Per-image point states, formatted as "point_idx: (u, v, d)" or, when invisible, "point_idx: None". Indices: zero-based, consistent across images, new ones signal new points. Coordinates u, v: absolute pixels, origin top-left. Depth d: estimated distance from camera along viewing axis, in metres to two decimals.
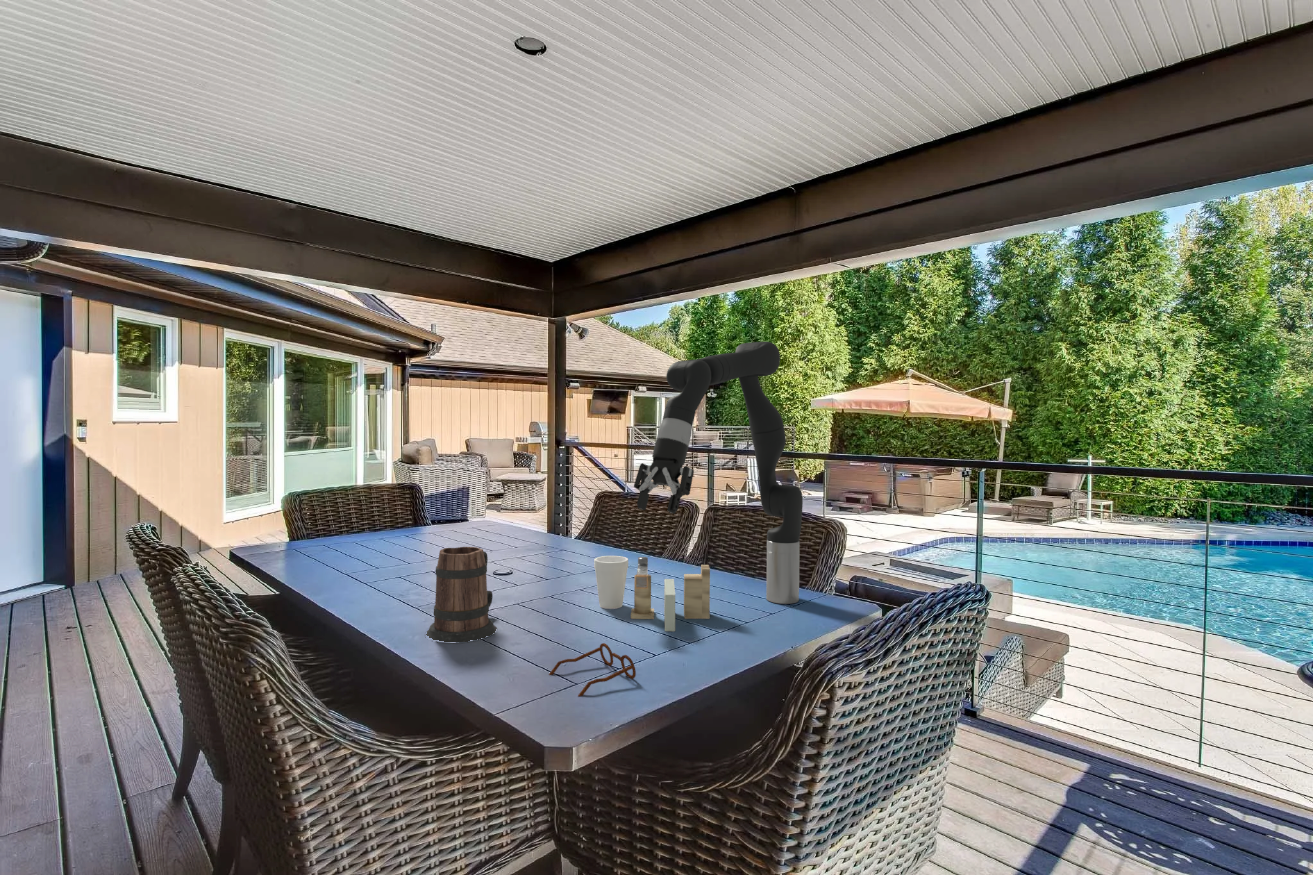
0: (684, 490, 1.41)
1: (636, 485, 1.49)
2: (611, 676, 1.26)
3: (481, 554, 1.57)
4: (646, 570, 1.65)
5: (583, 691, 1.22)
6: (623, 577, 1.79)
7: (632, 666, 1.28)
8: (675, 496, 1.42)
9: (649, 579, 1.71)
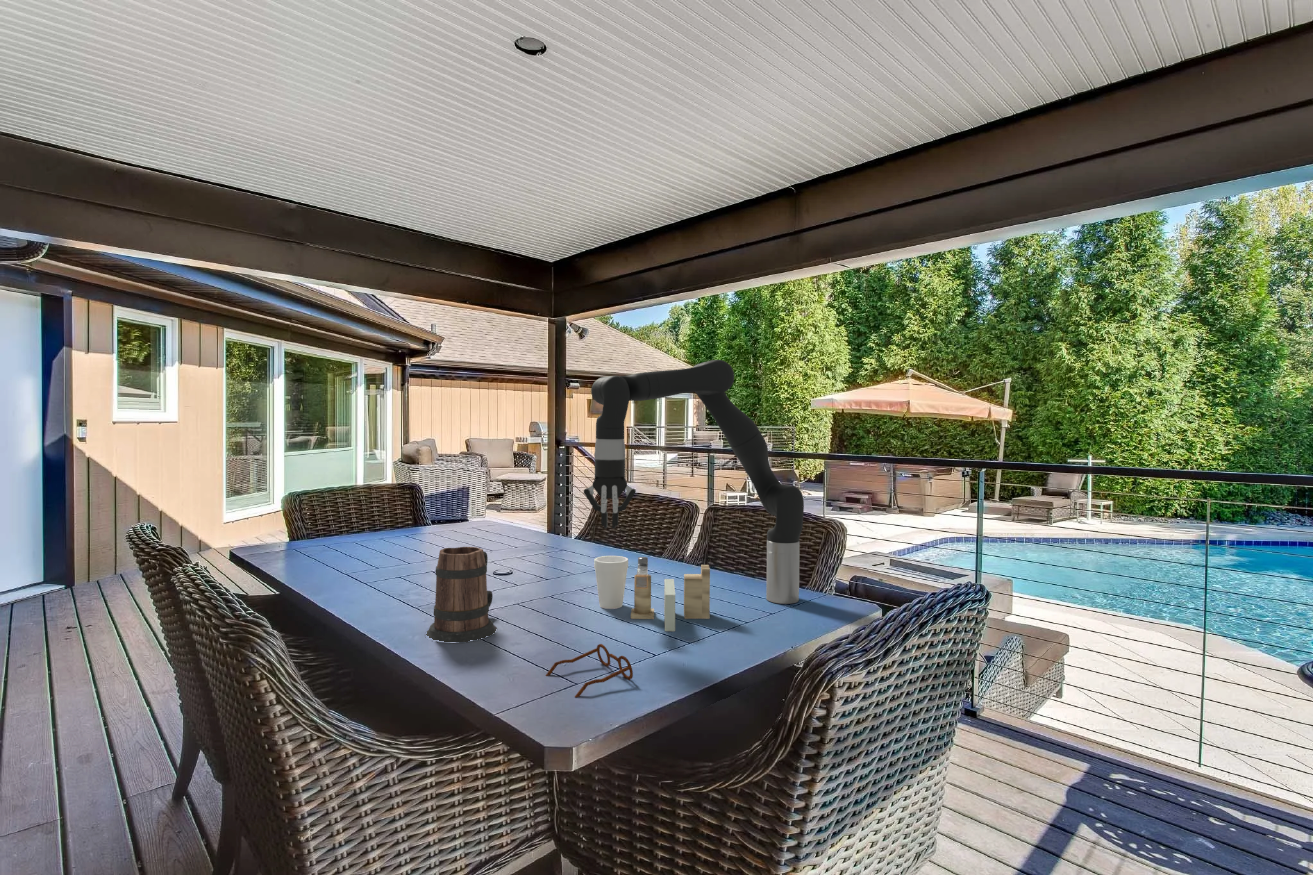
0: None
1: (596, 507, 1.60)
2: (608, 677, 1.25)
3: (481, 554, 1.57)
4: (646, 570, 1.65)
5: (580, 692, 1.22)
6: (623, 577, 1.79)
7: (629, 667, 1.28)
8: (616, 514, 1.60)
9: (649, 579, 1.71)
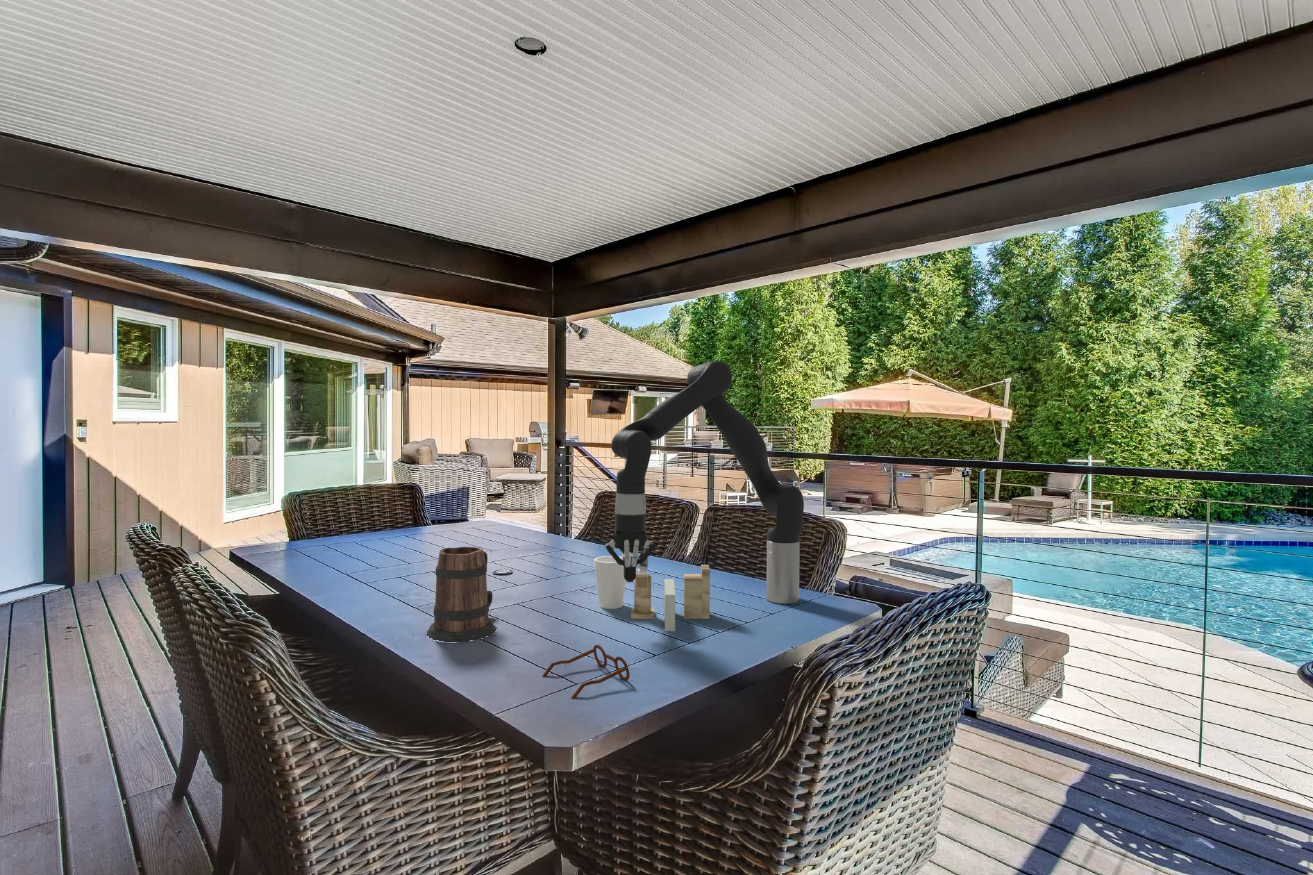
0: None
1: (620, 562, 1.59)
2: (605, 678, 1.25)
3: (481, 554, 1.57)
4: (646, 570, 1.65)
5: (576, 693, 1.21)
6: (623, 577, 1.79)
7: (626, 668, 1.27)
8: (634, 567, 1.60)
9: (649, 579, 1.71)
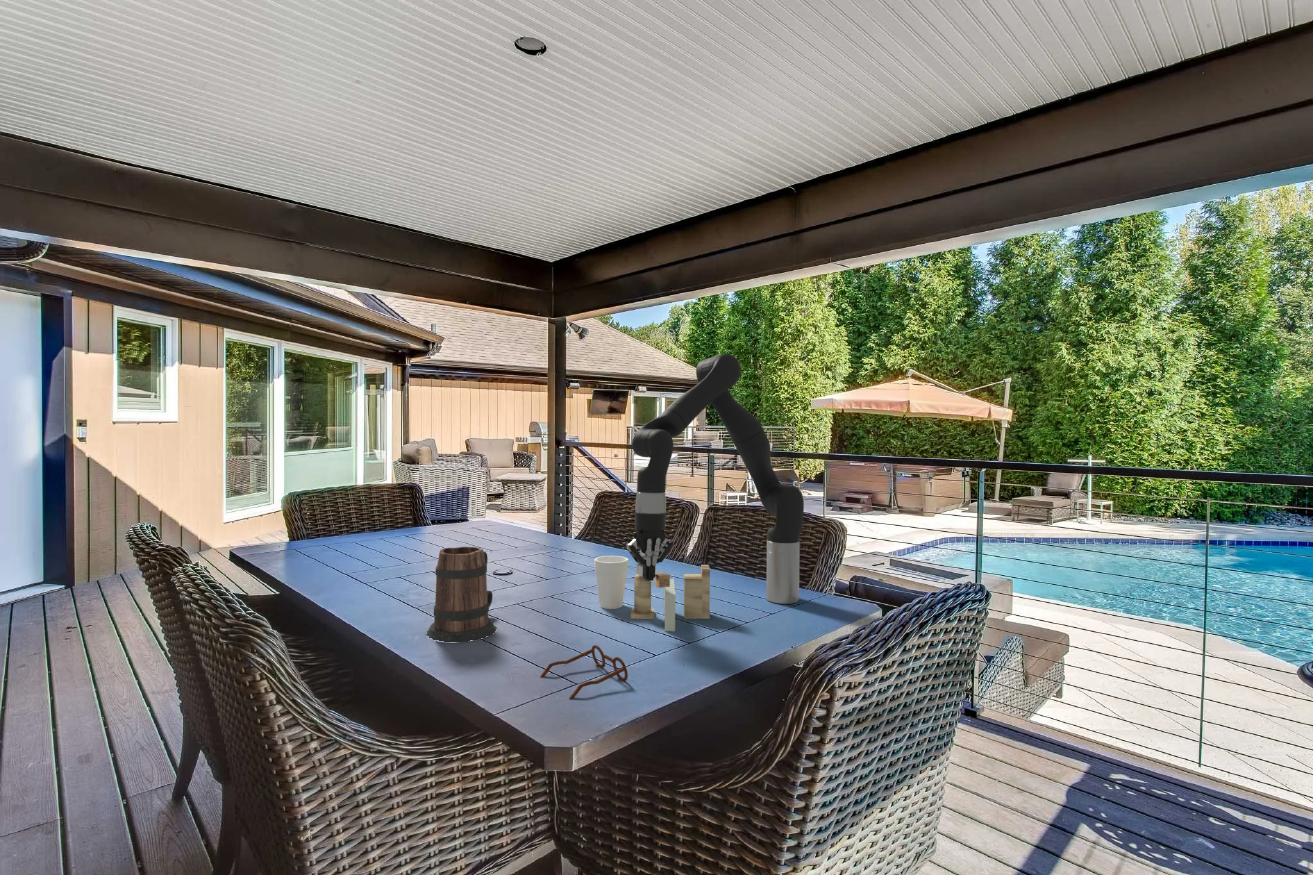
0: None
1: (643, 561, 1.58)
2: (603, 678, 1.24)
3: (481, 554, 1.57)
4: (656, 569, 1.66)
5: (574, 694, 1.21)
6: (623, 577, 1.79)
7: (624, 668, 1.27)
8: (654, 566, 1.61)
9: None
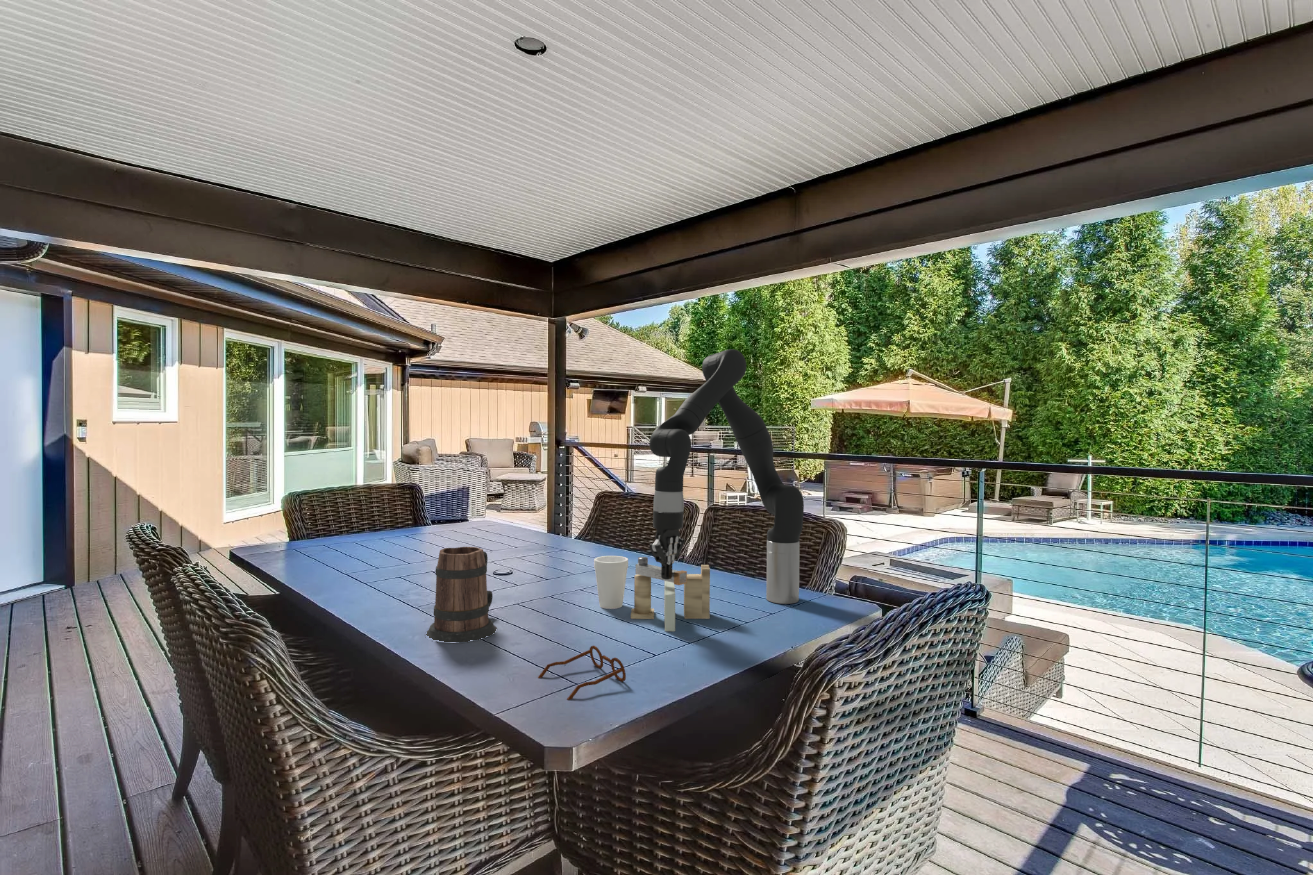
0: None
1: (665, 560, 1.60)
2: (601, 679, 1.24)
3: (481, 554, 1.57)
4: None
5: (572, 694, 1.20)
6: (623, 577, 1.79)
7: (622, 669, 1.27)
8: (671, 564, 1.63)
9: (649, 579, 1.71)
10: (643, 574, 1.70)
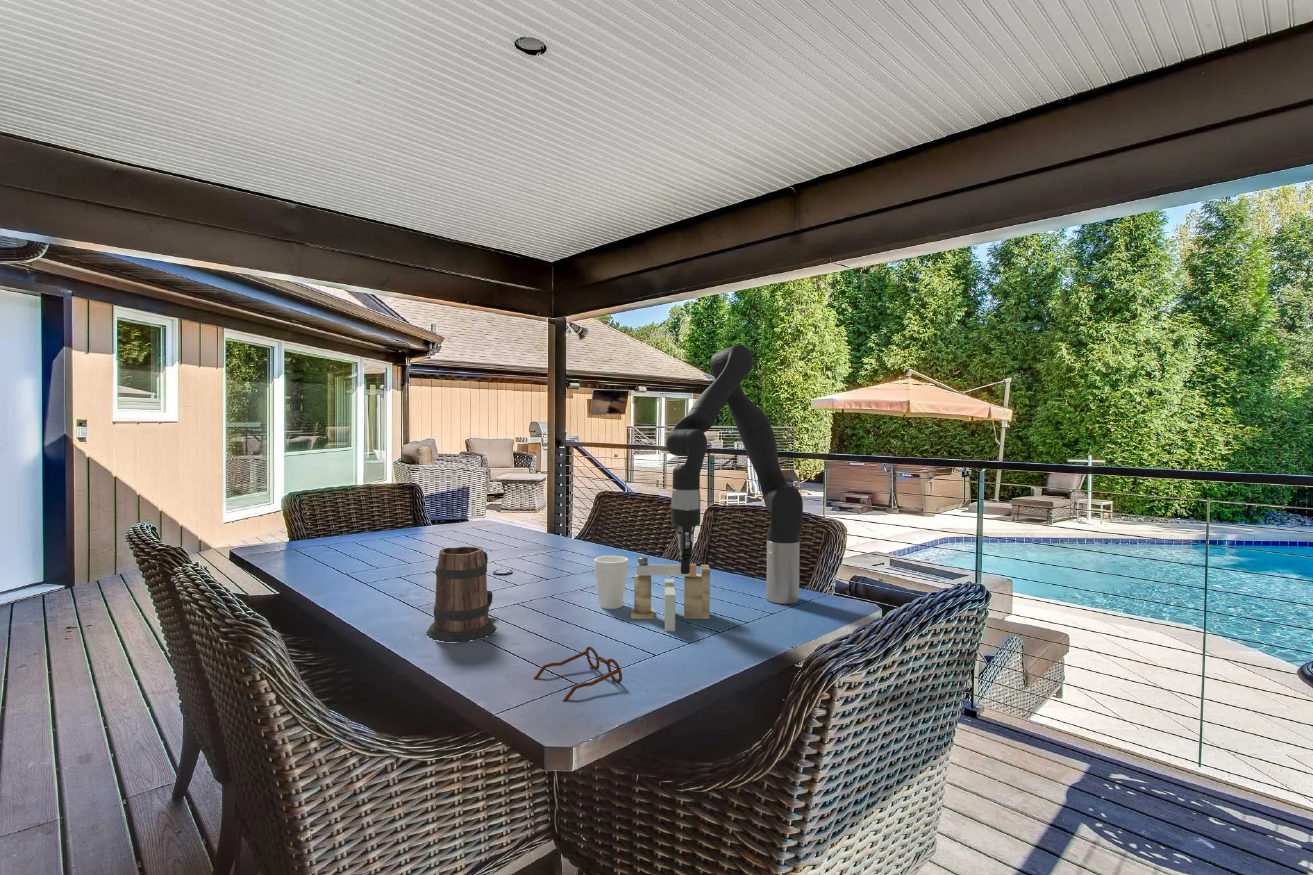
0: None
1: None
2: (597, 680, 1.24)
3: (481, 554, 1.57)
4: (668, 564, 1.73)
5: (568, 696, 1.20)
6: (623, 577, 1.79)
7: (618, 670, 1.26)
8: None
9: (649, 579, 1.71)
10: (648, 574, 1.71)
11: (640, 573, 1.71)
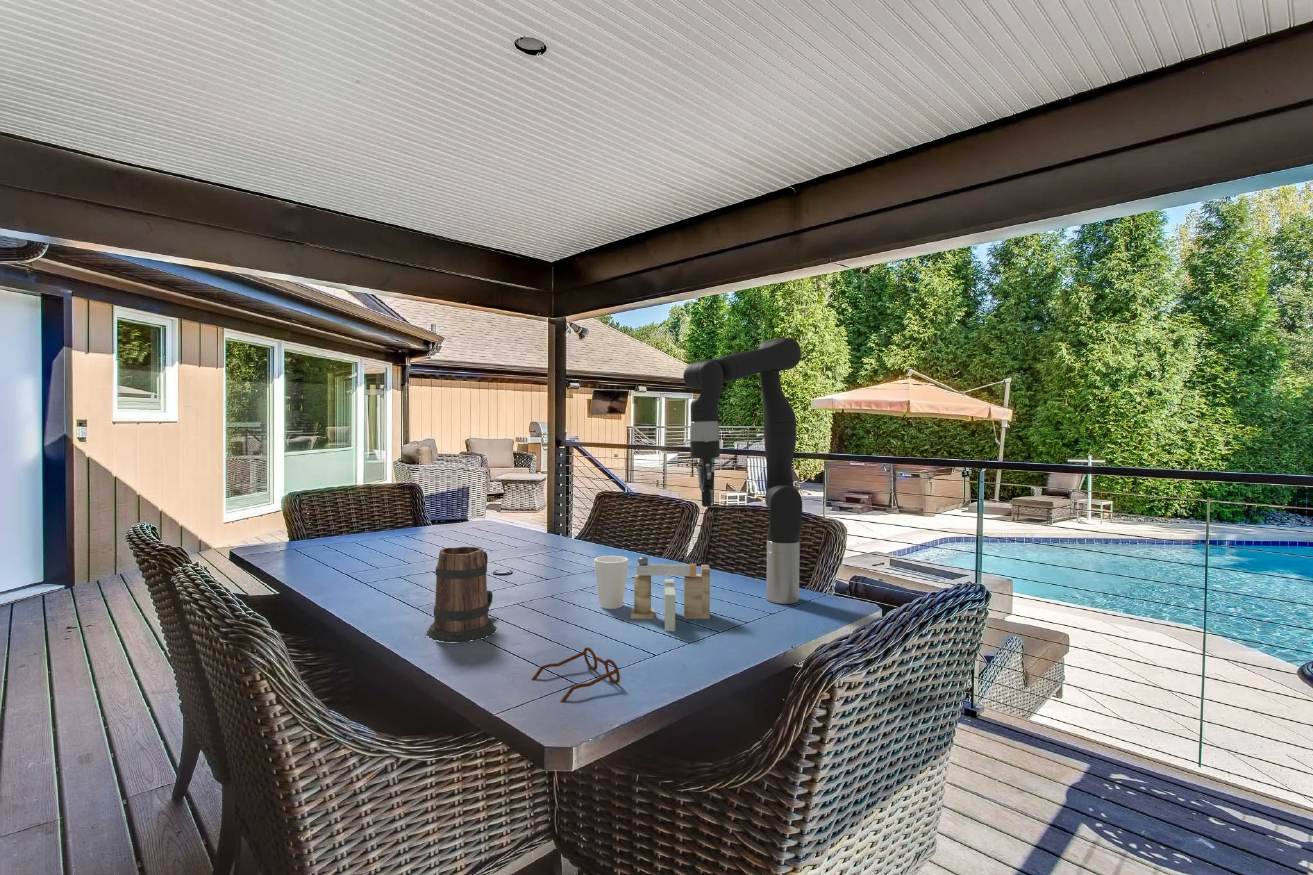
0: None
1: None
2: (594, 681, 1.23)
3: (481, 554, 1.57)
4: (668, 564, 1.73)
5: (566, 696, 1.20)
6: (623, 577, 1.79)
7: (616, 670, 1.26)
8: None
9: (649, 579, 1.71)
10: (648, 574, 1.71)
11: (640, 573, 1.71)
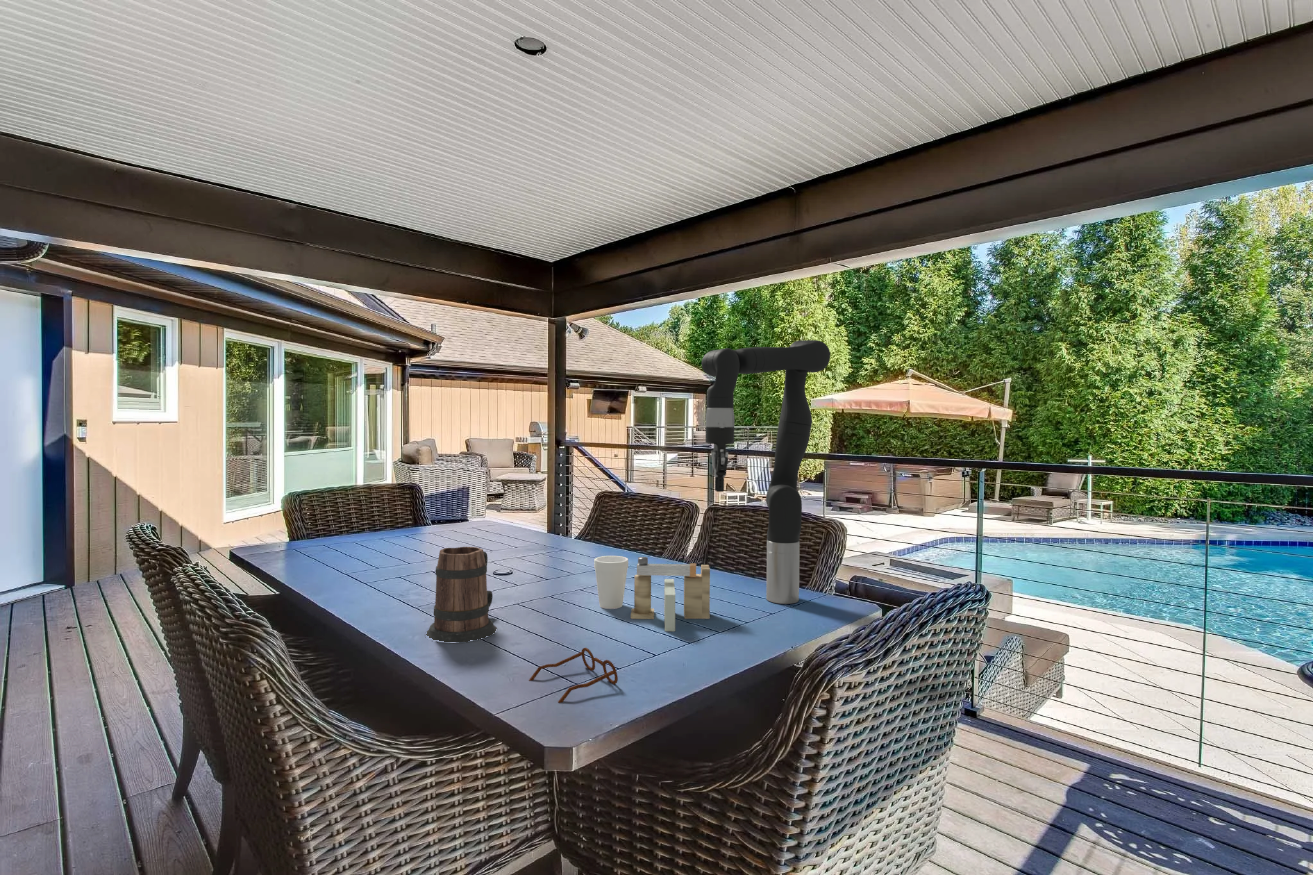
0: None
1: None
2: (592, 682, 1.23)
3: (481, 554, 1.57)
4: (668, 564, 1.73)
5: (563, 697, 1.19)
6: (623, 577, 1.79)
7: (614, 671, 1.26)
8: None
9: (649, 579, 1.71)
10: (648, 574, 1.71)
11: (640, 573, 1.71)
